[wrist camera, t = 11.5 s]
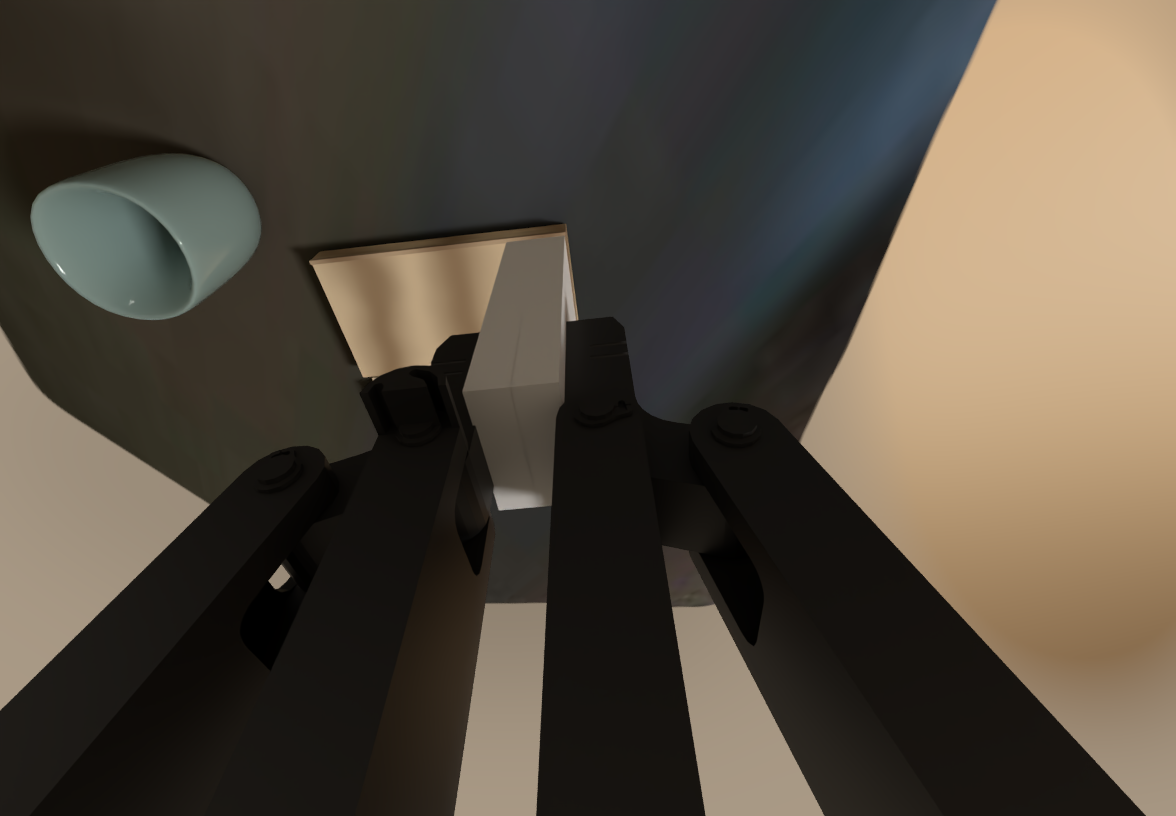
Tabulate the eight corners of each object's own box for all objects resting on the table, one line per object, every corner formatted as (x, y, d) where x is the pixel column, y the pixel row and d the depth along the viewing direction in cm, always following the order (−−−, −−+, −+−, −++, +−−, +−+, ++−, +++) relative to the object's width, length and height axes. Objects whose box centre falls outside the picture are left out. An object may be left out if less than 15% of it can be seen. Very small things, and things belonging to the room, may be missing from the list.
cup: (187, 258, 38) (84, 323, 30) (130, 139, 33) (-9, 180, 25) (295, 257, 38) (221, 322, 30) (253, 139, 33) (153, 179, 25)
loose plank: (369, 366, 44) (362, 378, 42) (319, 250, 38) (309, 260, 36) (581, 344, 43) (581, 356, 41) (565, 222, 37) (565, 232, 35)
